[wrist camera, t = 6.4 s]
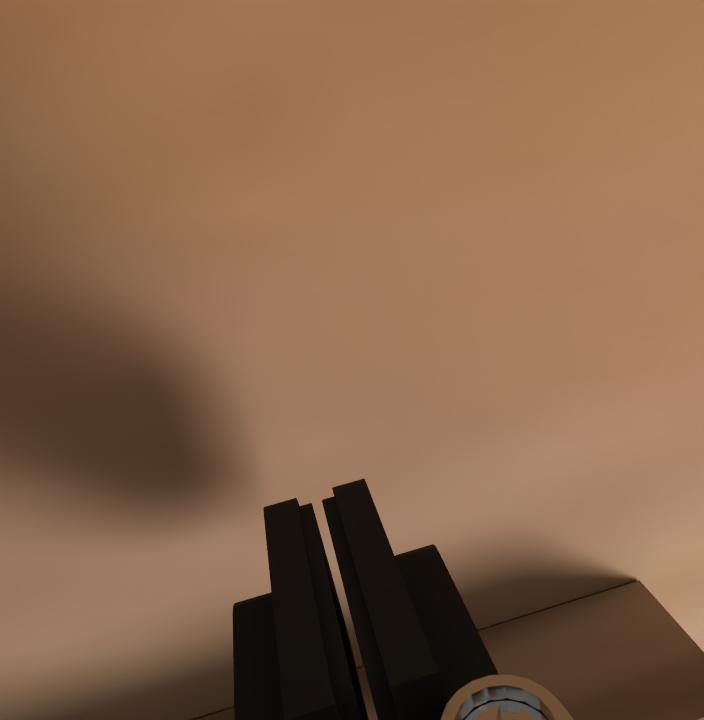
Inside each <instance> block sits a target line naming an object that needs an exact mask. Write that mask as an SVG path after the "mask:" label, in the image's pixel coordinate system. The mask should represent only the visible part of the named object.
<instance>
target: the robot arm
mask: <svg viewBox="0 0 704 720" xmlns="http://www.w3.org/2000/svg"><path fill="white" fill-rule="evenodd" d="M332 489H333V493H334V497H331V498H327V499H324V500H322V503H323V507H324V511H325V515H326V518H327V522H328V526H329V530H330V534H331V538H332V542H333V546H334V550H335V554H336V558H337V562H338V566H339V570H340V574H341V578H342V582H343V586H344V589H345V593H346V597H347V601H348V605H349V609H350V613H351V617H352V621H353V625H354V629H355V633H356V637H357V641H358V645H359V649H360V653H361V657H362V660H363V664H364V668H365V672H366V676H367V680H368V684H369V688H370V691H371V695H372V699H373V703H374V707H375V710H376V714H377V718H378V720H574V719H573V718H572V716H571V715H570V714H569V712H568V711H567V710H566V709H565V707H564V706H563V705H562V704H561V702H560V701H559V700H558V699H557V698H556V697H555V696H554V695H553V694H551V693H550V692H549V691H548V690H547V689H546V688H545V687H543V686H541V685H539V684H537V683H535V682H533V681H531V680H530V679H527V678H522V677H518V676H514V675H499V674H498V672H497V670H496V668H495V666H494V663H493V661H492V659H491V657H490V655H489V653H488V651H487V649H486V647H485V645H484V643H483V641H482V639H481V637H480V635H479V633H478V631H477V629H476V627H475V625H474V623H473V621H472V619H471V617H470V615H469V613H468V611H467V609H466V606H465V604H464V602H463V600H462V598H461V596H460V594H459V592H458V590H457V588H456V586H455V584H454V582H453V580H452V578H451V576H450V574H449V572H448V570H447V568H446V566H445V564H444V562H443V560H442V558H441V556H440V554H439V552H438V550H437V548H436V547H435V546H434V545H433V544H432V545H429V546H426V547H422V548H419V549H416V550H412V551H409V552H406V553H402V554H399V555H396V556H394V554H393V551H392V549H391V546H390V544H389V541H388V538H387V536H386V533H385V531H384V528H383V525H382V523H381V520H380V518H379V515H378V512H377V510H376V507H375V505H374V502H373V499H372V497H371V494H370V492H369V489H368V487H367V484H366V481H365V479H361V480H358V481H354V482H351V483H347V484H344V485H340V486H337V487H333V488H332ZM264 520H265V530H266V540H267V550H268V560H269V570H270V580H271V590H272V592H271V593H268V594H265V595H261V596H258V597H255V598H251V599H248V600H244V601H241V602H238V603H235V604H234V606H233V657H234V716H235V720H369V718H368V714H367V710H366V706H365V701H364V697H363V693H362V689H361V685H360V680H359V676H358V672H357V668H356V664H355V660H354V655H353V651H352V647H351V643H350V639H349V635H348V632H347V628H346V624H345V621H344V617H343V614H342V610H341V606H340V603H339V599H338V596H337V592H336V589H335V585H334V581H333V578H332V574H331V571H330V567H329V563H328V560H327V556H326V553H325V549H324V546H323V542H322V538H321V535H320V531H319V528H318V524H317V520H316V517H315V513H314V510H313V506H312V503H310V504H306V505H303V506H299V504H298V501H297V498H294V499H291V500H287V501H284V502H280V503H277V504H273V505H270V506H266V507H264Z"/></svg>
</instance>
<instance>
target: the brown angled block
mask: <svg viewBox="0 0 704 720" xmlns="http://www.w3.org/2000/svg"><path fill="white" fill-rule="evenodd" d="M478 633H479V635H480V637H481V639H482V641H483V643H484V645H485V647H486V649H487V651H488V653H489V655H490V657H491V659H492V661H493V663H494V666H495V668H496V670H497V672H498V674H499V675H514V676H518V677H522V678H527V679H530V680H531V681H533V682H535V683H537V684H539V685H541V686H543V687H545V688H546V689H547V690H548V691H549V692H550V693H551V694H553V695H554V696H555V697H556V698H557V699H558V700H559V701H560V702H561V704H562V705H563V706H564V707H565V709H566V710H567V711H568V712H569V714H570V715H571V716H572V718H573V719H574V720H704V652H703V651H702V650H701V649H700V648H699V647H698V645H697V644H696V643H695V642H694V641H693V640H692V639H691V638H690V636H689V635H688V634H687V633H686V632H685V631H684V630H683V629H682V627H681V626H680V625H679V624H678V623H677V622H676V621H675V620H674V619H673V617H672V616H671V615H670V614H669V613H668V612H667V611H666V610H665V608H664V607H663V606H662V605H661V604H660V603H659V602H658V601H657V600H656V598H655V597H654V596H653V595H652V594H651V593H650V592H649V591H648V589H647V588H646V587H645V586H644V585H643V584H642V583H641V582H640V580H639V581H636V582H633V583H630V584H626V585H623V586H620V587H617V588H614V589H610V590H607V591H604V592H601V593H598V594H595V595H591V596H588V597H585V598H582V599H579V600H575V601H572V602H569V603H566V604H563V605H559V606H556V607H553V608H550V609H547V610H543V611H540V612H537V613H534V614H531V615H527V616H524V617H521V618H518V619H515V620H511V621H508V622H505V623H502V624H499V625H496V626H492V627H489V628H486V629H483V630H480V631H478ZM357 672H358V676H359V680H360V685H361V689H362V693H363V697H364V701H365V706H366V710H367V714H368V718H369V720H378V718H377V714H376V710H375V707H374V703H373V699H372V695H371V691H370V688H369V684H368V680H367V676H366V672H365V668H364V667H361V668H358V669H357ZM195 720H235V716H234V708H230V709H227V710H224V711H221V712H218V713H214V714H211V715H208V716H205V717H202V718H198V719H195Z"/></svg>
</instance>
